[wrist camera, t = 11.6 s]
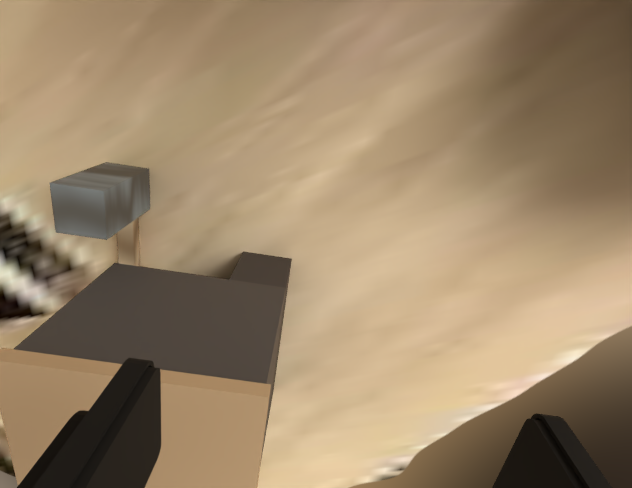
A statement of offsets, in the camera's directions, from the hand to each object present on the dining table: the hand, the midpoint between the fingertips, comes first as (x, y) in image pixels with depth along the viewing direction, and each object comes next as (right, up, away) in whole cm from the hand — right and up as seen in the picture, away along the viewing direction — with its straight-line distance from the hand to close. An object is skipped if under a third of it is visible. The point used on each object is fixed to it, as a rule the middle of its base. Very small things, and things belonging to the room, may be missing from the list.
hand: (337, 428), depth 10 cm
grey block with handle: (-20, +2, +31) cm, 37 cm away
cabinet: (-12, -4, +33) cm, 35 cm away
